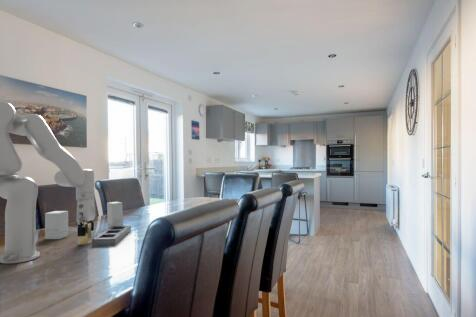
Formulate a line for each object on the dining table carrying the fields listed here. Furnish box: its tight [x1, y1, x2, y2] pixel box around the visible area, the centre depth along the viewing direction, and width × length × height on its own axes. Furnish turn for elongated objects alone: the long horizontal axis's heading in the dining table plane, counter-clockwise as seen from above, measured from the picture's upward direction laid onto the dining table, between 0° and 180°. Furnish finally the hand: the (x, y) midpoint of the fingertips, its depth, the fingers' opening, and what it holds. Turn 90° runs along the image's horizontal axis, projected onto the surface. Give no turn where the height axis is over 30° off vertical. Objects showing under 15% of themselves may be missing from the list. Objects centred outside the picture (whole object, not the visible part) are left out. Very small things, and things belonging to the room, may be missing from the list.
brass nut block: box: [77, 223, 92, 246], centre depth 137 cm, size 4×4×9 cm
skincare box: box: [106, 201, 124, 229], centre depth 166 cm, size 8×6×15 cm
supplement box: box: [44, 210, 69, 240], centre depth 148 cm, size 7×7×13 cm
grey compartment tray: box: [91, 225, 132, 247], centre depth 146 cm, size 28×10×3 cm, turn 6°
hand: (86, 233), depth 137 cm, fingers open, 9 cm apart
